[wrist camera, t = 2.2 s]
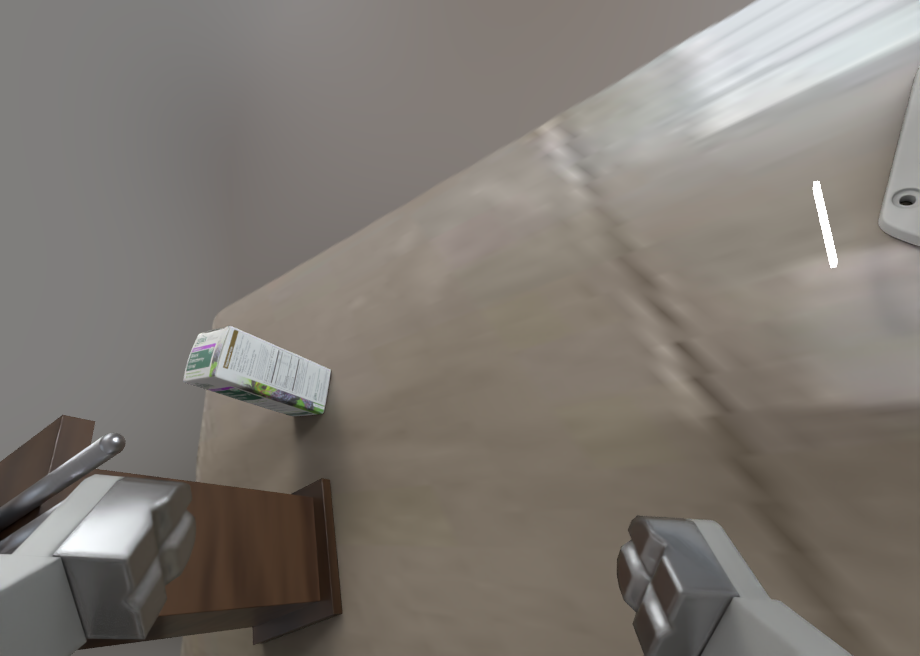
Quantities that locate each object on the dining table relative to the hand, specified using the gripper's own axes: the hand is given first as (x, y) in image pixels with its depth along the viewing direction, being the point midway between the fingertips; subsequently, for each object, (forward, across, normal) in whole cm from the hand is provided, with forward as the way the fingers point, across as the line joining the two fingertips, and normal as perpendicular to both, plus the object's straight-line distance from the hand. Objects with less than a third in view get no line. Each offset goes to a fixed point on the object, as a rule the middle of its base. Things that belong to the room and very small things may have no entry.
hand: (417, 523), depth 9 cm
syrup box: (+44, +12, +27) cm, 53 cm away
